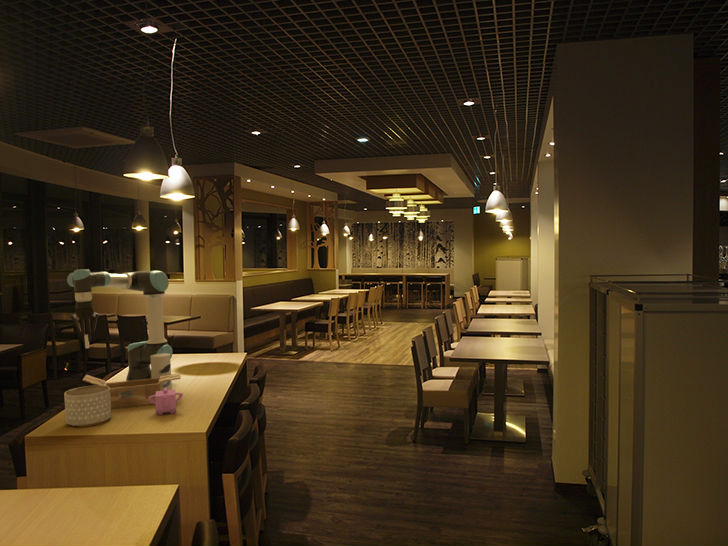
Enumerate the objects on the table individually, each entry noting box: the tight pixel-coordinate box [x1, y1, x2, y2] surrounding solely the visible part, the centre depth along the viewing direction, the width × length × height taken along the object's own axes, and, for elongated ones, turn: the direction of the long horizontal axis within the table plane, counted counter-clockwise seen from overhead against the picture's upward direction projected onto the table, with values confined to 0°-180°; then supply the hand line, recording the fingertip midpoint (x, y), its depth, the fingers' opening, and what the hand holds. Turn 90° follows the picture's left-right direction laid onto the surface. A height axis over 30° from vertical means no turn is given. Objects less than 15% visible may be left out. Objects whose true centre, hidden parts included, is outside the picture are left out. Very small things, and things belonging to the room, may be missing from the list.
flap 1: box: [82, 374, 107, 386], centre depth 285 cm, size 12×1×10 cm
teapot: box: [148, 388, 184, 416], centre depth 272 cm, size 15×13×11 cm
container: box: [150, 353, 173, 391], centre depth 312 cm, size 10×10×20 cm
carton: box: [104, 378, 161, 410], centre depth 290 cm, size 16×26×10 cm, turn 108°
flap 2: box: [159, 373, 181, 382], centre depth 296 cm, size 12×1×10 cm
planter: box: [63, 385, 112, 427], centre depth 261 cm, size 19×19×14 cm
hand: (87, 347), depth 288 cm, fingers closed
